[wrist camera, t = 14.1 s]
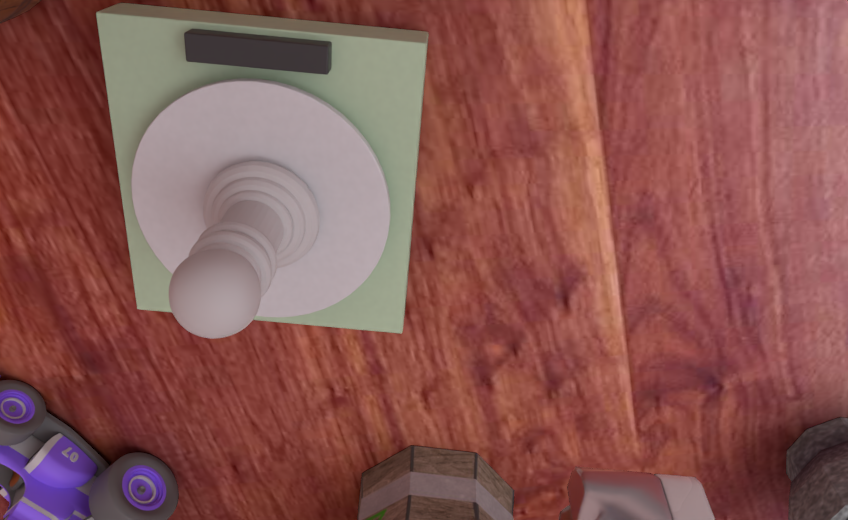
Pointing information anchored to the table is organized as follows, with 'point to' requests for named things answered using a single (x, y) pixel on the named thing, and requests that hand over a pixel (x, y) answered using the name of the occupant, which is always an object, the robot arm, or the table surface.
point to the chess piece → (242, 246)
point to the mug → (434, 488)
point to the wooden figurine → (15, 8)
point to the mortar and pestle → (819, 473)
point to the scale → (270, 147)
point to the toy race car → (71, 469)
